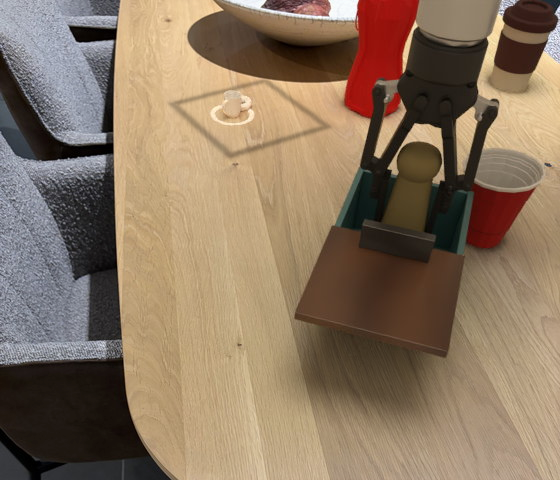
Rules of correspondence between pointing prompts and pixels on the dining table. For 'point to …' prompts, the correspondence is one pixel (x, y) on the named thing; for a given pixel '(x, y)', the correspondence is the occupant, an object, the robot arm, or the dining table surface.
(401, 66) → the water bottle
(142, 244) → the dining table surface
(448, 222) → the storage box
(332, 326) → the sliding lid
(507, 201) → the plastic cup
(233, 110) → the teacup and saucer
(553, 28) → the coffee cup
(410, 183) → the brown pawn
